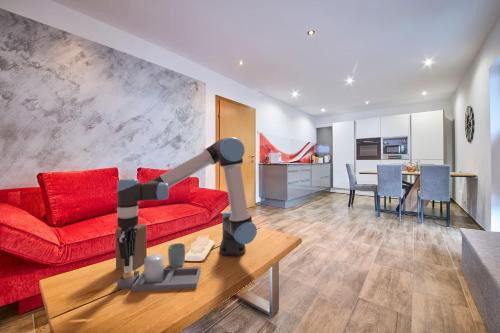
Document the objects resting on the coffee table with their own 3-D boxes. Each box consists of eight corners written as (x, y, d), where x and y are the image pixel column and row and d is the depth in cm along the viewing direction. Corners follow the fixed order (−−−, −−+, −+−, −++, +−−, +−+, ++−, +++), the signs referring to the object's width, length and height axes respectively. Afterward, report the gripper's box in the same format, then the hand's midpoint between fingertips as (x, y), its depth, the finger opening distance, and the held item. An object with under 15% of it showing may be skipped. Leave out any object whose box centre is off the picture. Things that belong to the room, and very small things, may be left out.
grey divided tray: (200, 272, 99) (200, 266, 99) (196, 289, 86) (196, 283, 86) (145, 274, 97) (145, 269, 97) (131, 293, 83) (131, 286, 83)
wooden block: (133, 272, 99) (132, 230, 98) (114, 270, 101) (114, 228, 100) (147, 262, 108) (147, 223, 108) (130, 260, 110) (130, 222, 110)
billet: (165, 275, 95) (165, 253, 95) (160, 285, 87) (160, 262, 87) (148, 276, 94) (148, 254, 94) (141, 286, 87) (141, 262, 86)
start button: (135, 279, 90) (135, 270, 90) (131, 284, 86) (131, 275, 86) (125, 279, 90) (125, 270, 90) (121, 285, 86) (121, 275, 86)
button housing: (139, 281, 92) (139, 271, 91) (133, 289, 86) (133, 278, 85) (124, 282, 91) (124, 271, 91) (117, 290, 85) (117, 279, 85)
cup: (165, 266, 105) (165, 246, 104) (179, 260, 110) (179, 242, 110) (173, 272, 99) (173, 251, 99) (187, 266, 105) (187, 246, 105)
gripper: (125, 212, 93) (126, 264, 94) (109, 220, 80) (109, 281, 81) (143, 212, 94) (143, 264, 95) (130, 220, 81) (130, 280, 82)
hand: (128, 272), depth 88 cm, fingers closed
